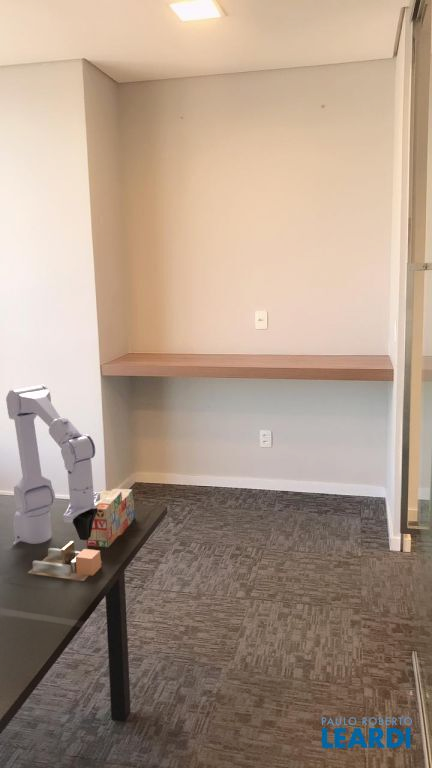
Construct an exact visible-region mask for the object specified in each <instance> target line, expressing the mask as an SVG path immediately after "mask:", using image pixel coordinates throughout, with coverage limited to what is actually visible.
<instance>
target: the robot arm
mask: <svg viewBox="0 0 432 768" xmlns="http://www.w3.org/2000/svg"><path fill="white" fill-rule="evenodd" d="M51 397H52V396H51V392H50V390H49V388H48V387H47V386H46V385H45V384H40V385H34V386H30V387H29V386H28V387H24V388H23V387H22V388H17V389H10V390H9V391H8V393H7V395H6V398H5V401H6V407H7V414H8V418H9V420H12V421H13V420H14V427H15V433H16V440H17V448H18V453H19V460H20V468H21V473H22V477H21V479H20V480H19V481H18V482H17V483H16V484H15V485H14V486H13V505H14V508H15V511H16V512H15V514H14V516H13V521H12V522H13V532H14V542H13V545H16V544H18V543H19V542H24V543H27V544H31V545H32V544H33V545H34V544H35V545H38V544H42V543H45V542H47V541H50V539H52V526H51V515H50V514H51V513H50V510H52V506H53V505H54V504H55V501H56V494H55V490H54V488H53V485H52V481H51V480H50V479H49V478H48V477H46V476H43V475H42V469H41V468H42V467H41V461H40V455H39V447H38V440H37V433H36V426H35V425H36V424H35V419H36V417H37V416H38V417H39V418H40V420H42V421H43V422H44V423H45V424H46V425H47V426H48V427H49V428H48V434H49V436H50V437H51V438H52V439H53V441H54V442H55V443H56V445H58V447H59V448H60V449H61V450H60V453H61V457H62V460H63V461H64V467H65V468H64V469H65V470H66V471H67V480H68V481H67V482H68V492H69V493H68V494H69V504H68V507H67V509H66V511H65V512H64V513H63V515H62V517H63V518H62V519H63V523H64V524H65V523H67V524H73V527H74V528H75V531H76V533H77V535H78V537H79V540H80V541H87V540H88V538H90V537H91V531H92V526H93V521H94V518H95V516H96V513H97V512H98V510H97V507H98V506H99V504H98V503H96V502H97V501H99V500H100V493H99V492H96V491H94V479H93V470H92V459H94V457H95V456H96V446H95V442H94V440H93V438H92V437H91V436H90V435H89V434H85V433H81V432H79V430H78V429H77V428H76V426H74V425H73V423H72V422H71V421H70V420H69V419H68V418H66V417H61V416H60V414H59V413H58V411H57V409H56V408H55V406H54V405H53V403H52V398H51Z"/></svg>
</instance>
